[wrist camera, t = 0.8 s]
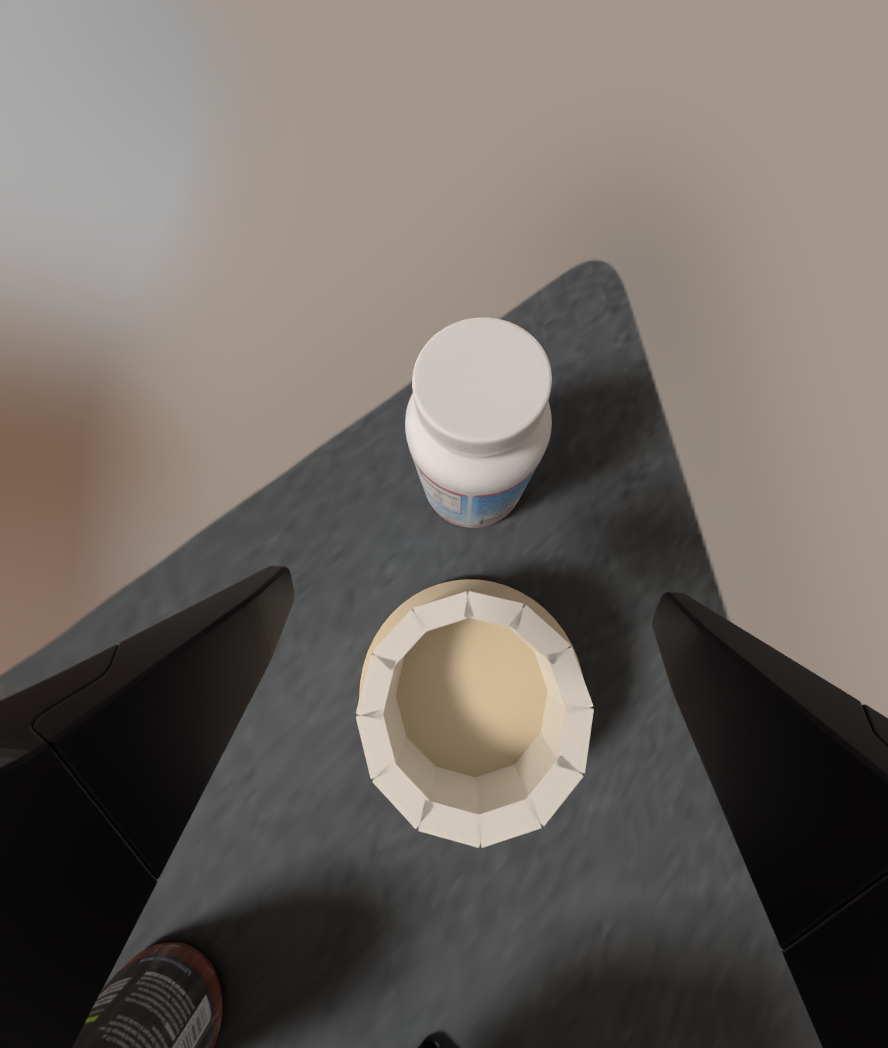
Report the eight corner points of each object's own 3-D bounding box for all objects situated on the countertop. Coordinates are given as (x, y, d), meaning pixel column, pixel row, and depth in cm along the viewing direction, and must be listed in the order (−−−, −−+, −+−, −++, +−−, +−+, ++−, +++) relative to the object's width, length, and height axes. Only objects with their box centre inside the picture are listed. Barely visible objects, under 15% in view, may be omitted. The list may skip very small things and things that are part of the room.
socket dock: (479, 866, 20) (485, 940, 15) (319, 694, 21) (284, 717, 17) (626, 684, 21) (668, 705, 17) (463, 537, 23) (464, 524, 19)
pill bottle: (521, 435, 24) (574, 295, 13) (521, 531, 23) (580, 466, 12) (425, 433, 24) (396, 295, 13) (420, 528, 23) (385, 462, 12)
